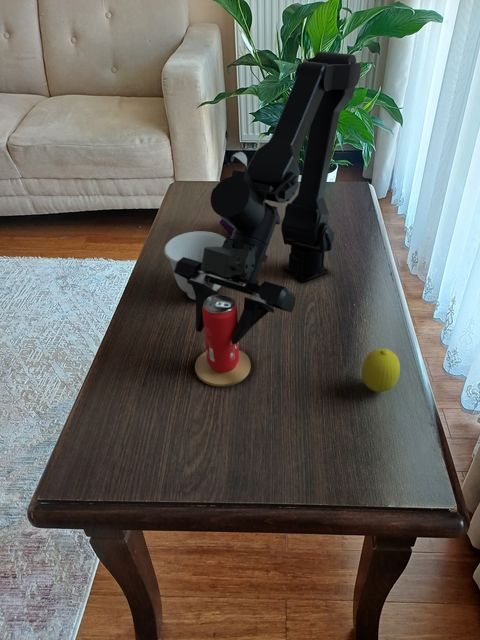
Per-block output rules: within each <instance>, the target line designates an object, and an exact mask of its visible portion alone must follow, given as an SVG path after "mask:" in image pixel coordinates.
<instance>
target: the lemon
mask: <svg viewBox="0 0 480 640" xmlns="http://www.w3.org/2000/svg"><path fill="white" fill-rule="evenodd" d="M400 374H401V363H400V360H399V357H398V355H396V353H395V352H394V351H392V350H391V349H388V348H383V347H382V348H376V349H374V350H372V351H370V352H369V353H368V354H367V356H366V358H365V359H364V361H363V363H362V367H361V377H362V380H363V383H364V385H365V386H366V387H367V388H368V389H370V390H371V391H373V392H378V393H384V392H387V391H390V390H391V389H393V388H394V386H395V385H396V384H397V382H398V380H399V378H400Z"/></svg>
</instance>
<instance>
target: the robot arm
mask: <svg viewBox="0 0 480 640" xmlns="http://www.w3.org/2000/svg"><path fill="white" fill-rule="evenodd" d="M361 72H362V67H361V63H360V62H357V57H356V56H355V54H350V53H342V52H341V53H340V52H331V51H322V50H319V51H318V52H316V53H315V55H314V56H313V57H308V58H303V60H302V62H299V63H298V65H297V66H296V70H295V73H294V74H295V76H294V78H295V79H294V83H293V85H292V88H291V90H290V92H289V94H288V97H287V99H286V102H285V104H284V106H283V109H282V111H281V113H280V117H279V118H278V120H277V122H276V125H275V127H274V131H272V132H273V133H272V135H271V137H270V139H269V141H268V142H266V143H265V144H263V145H262V146H260V147H259V148H258V149H257V150H256V151H255V153H254V155H253V156H252V158H251V160H250V161H249V164H248V165H247V167H246V166H245V168H244V170H243V169H233V170H232V173H231V176H229V177H228V176H227V177H226V178H223V179H222V180H221V181H219V182H218V183H217V184H216V186H215V187H213V188H212V191H211V193H210V206H211V208H212V210H213V211H214V212H215V213H216V215H217V216H219V217H220V218H221V219H223V220H225V221H226V222H227V223H228V224H229V225H230V226H232V227H233V228H234V231H233V234H232V235H230V236H231V237H225V238H226V240H225V241H224V243H223V246H222V247H205V248H204V253H203V259H202V262H199V261H195V260H192V259H188V258H185V257H183V258H181V259H180V260H179V261H178V262H177V263H176V266H175V269H174V272H173V274H174V273H176V274H178V275H180V276H182V277H184V278H185V279H187V283H189V284H190V285H192V287H193V290H194V293H195V299H196V300H195V331H196V332H197V333H201V332H202V331H203V330H204V323H203V312H202V307H203V304H204V301H205V300H206V299H207V298H208V297H210V296H213V295H218V294H219V292H218V290H217V291H215V290H213V286H214V284H216V285H219V286H221V287H223V288H226V289H229V290H233V291H236V292H239V293H243V294H245V295H249V296H251V298H249V297H246V296H244V298H243V300H244V301H243V309H242V312H241V315H240V317H239V319H238V324H237V327H236V329H235V332H234V335H233V339H232V344H235V345H236V344H237V343H238V342H239V343H240V341H241V340H242V339H243V338H244V337H245V335H247V333H249V331H251V329H252V328H253V327H254V326H255V324H257V323H258V322H259V321H260V320H261V319H262V318H264V316H265V315H267V314H268V313H272V314H274V313H275V309H278V310H282V311H284V312H287V313H290V314H291V313H293V310H294V307H295V306H296V299H297V298H296V296H295V295H296V294H294V292H292V291H291V289H288V288H287V287H286V286H284V285H280V284H276V283H273V282H270V281H266V280H264V281H263V282H262V283H261V284H260V281H259V280H258V279H257V278H258V276H259V273H260V270H261V267H262V265H263V263H267V260H268V257H269V256H268V255H267V254H266V253H267V250H268V246H269V244H270V241H271V239H272V237H273V233H274V231H275V227H276V225H280V226H281V227H280V229H281V230H280V231H281V236H282V240H283V245H286V246H287V245H288V246H290V252H289V253H288V265H285V270H286V271H287V272H288V273H290V274H291V275H293V276H294V277H295V278H296V279H298V280H299V281H301V282H302V283H307V282H309V281H312V280H314V279H316V278H319V277H321V276H325V275H327V274H328V273H329V269H328V268H326V267H325V266H324V263H325V254H326V252H330V251H331V250H333V249H332V248H333V242H334V237H335V232H334V231H333V229H332V228H331V226H330V225H329V218H330V211H329V209H328V207H327V204H326V200H325V192H326V187H327V182H328V176H329V172H330V166H331V161H332V157H333V151H334V146H335V141H336V136H337V130H338V125H339V121H340V116H341V112H343V110H344V109H345V108H346V106H347V105H348V104H349V103H350V102H351V101H352V99H353V97H354V94H355V93H354V92H355V89H356V87H357V86H358V84H359V81H360V78H361ZM306 138H307V141H306V147H305V153H304V158H303V165H302V170H301V171H300V165H299V161H298V159H299V156H300V152H301V151H302V148H303V145H304V143H305V140H306ZM241 170H243V171H241ZM300 174H301V175H300ZM299 178H300V183H299ZM297 191H298V193H297ZM296 194H297V195H296ZM295 195H296V196H295ZM294 196H295V198H293V197H294ZM292 198H293V200H292V201H291V199H292ZM266 201H269V202H274V203H278V204H285V203H286V202H289V201H291V202H289V203H287V205H286V206H285V208H284V209H285V211H284V216H283V218H282V221H281V217H280V214H279V211H278V207H277V206H274V205H270V204H269V203H268V202H266ZM274 308H275V309H274Z"/></svg>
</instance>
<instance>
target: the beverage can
mask: <svg viewBox="0 0 480 640" xmlns="http://www.w3.org/2000/svg"><path fill="white" fill-rule="evenodd" d="M202 312H203V323H204V328H203V331H204V332H203V333H204V342H205V352H206V353H207V362H208V364H209V365H210V366H211V368H212V369H213V370H214V371H216V372H219V373H227V372H230V371H232V370H234V369H235V368H236V366H237V363H238V362H239V350H240V341H239V342H238V343H237V344H236V345H235V344H232V339H233V335H234V332H235V329H236V327H237V324H238V322H239V315H238V305H237V303H236V300H235V299H234V298H233V297H232V296H230V295H228V294H223V293H221V294H219V293H218V295H213V296H210V297H208V298H207V299H206V300H205V301H204V304H203V307H202Z"/></svg>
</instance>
